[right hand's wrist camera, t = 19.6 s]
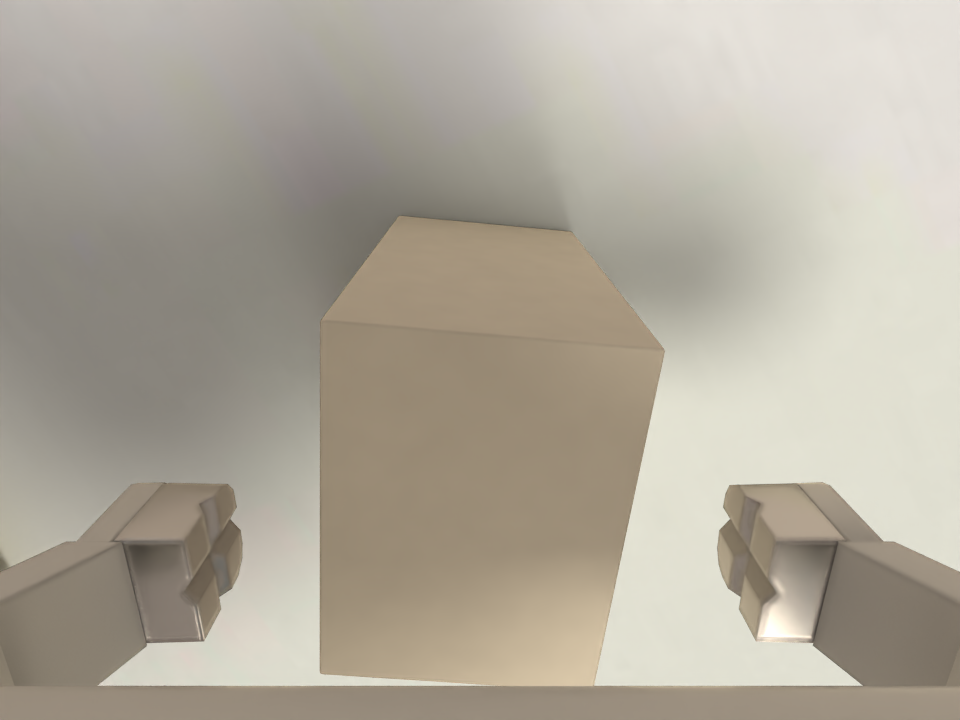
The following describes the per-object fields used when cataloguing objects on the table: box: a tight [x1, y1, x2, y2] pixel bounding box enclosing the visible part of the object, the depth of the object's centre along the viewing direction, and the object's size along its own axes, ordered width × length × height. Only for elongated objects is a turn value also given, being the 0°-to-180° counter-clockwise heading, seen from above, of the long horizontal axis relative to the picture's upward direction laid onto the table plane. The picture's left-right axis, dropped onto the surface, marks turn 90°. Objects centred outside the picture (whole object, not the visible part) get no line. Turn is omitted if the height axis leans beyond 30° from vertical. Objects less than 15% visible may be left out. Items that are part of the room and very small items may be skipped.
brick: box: [320, 216, 665, 686], centre depth 15 cm, size 5×7×10 cm
